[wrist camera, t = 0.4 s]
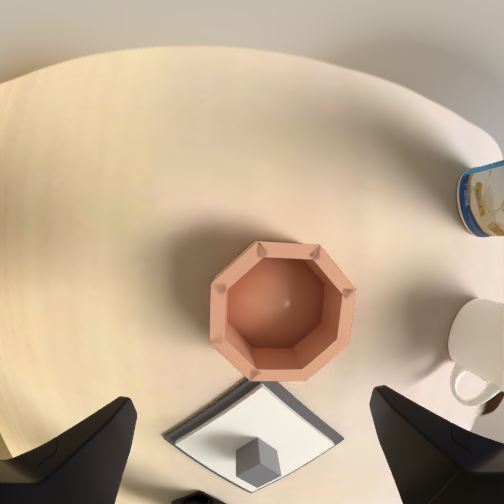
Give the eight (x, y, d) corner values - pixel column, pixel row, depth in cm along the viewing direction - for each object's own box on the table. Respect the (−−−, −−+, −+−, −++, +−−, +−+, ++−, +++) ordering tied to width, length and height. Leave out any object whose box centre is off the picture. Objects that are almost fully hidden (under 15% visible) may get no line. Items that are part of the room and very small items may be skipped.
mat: (250, 491, 24) (251, 493, 24) (164, 435, 23) (163, 438, 23) (343, 437, 24) (344, 439, 24) (262, 367, 23) (262, 369, 23)
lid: (251, 487, 24) (253, 514, 19) (176, 440, 23) (167, 469, 18) (332, 440, 24) (345, 467, 19) (261, 382, 23) (266, 411, 18)
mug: (417, 370, 24) (475, 413, 13) (470, 283, 24) (537, 297, 13) (447, 393, 25) (495, 429, 14) (493, 317, 25) (548, 335, 14)
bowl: (269, 374, 23) (275, 403, 18) (191, 296, 23) (179, 311, 18) (352, 302, 23) (377, 316, 18) (280, 217, 23) (291, 211, 18)
